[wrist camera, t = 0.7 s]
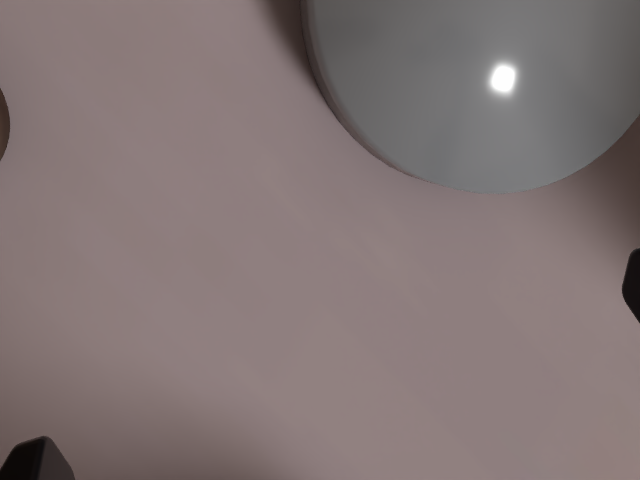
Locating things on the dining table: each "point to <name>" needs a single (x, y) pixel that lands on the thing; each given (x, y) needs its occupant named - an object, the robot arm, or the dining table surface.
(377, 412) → the dining table surface
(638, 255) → the robot arm
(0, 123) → the pepper mill
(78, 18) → the dining table surface
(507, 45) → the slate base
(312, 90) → the dining table surface
